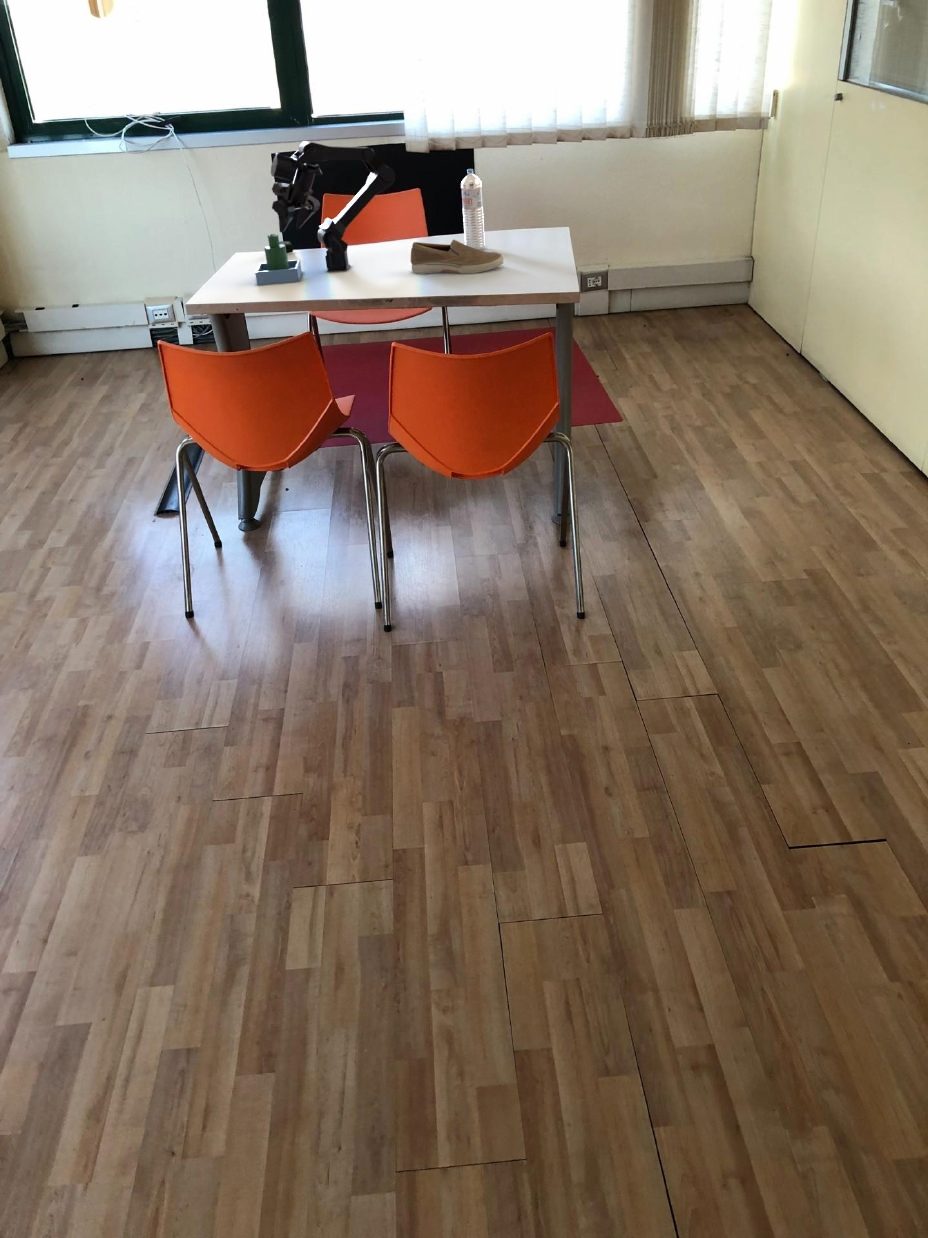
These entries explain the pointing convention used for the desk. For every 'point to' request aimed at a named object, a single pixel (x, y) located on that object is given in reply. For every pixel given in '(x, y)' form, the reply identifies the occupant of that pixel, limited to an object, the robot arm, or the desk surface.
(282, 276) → the tote
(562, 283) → the desk surface
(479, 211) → the water bottle
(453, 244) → the slip on shoe
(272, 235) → the bottle
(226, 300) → the desk surface
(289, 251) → the tape measure
